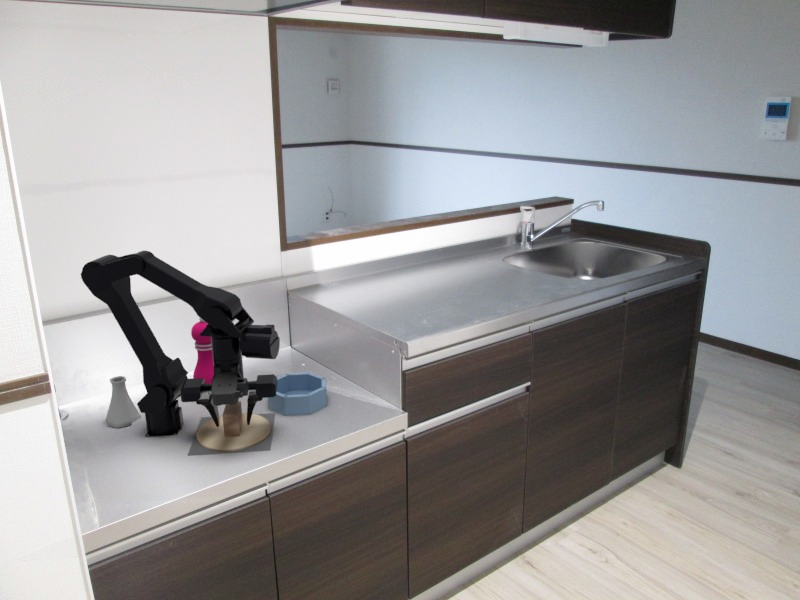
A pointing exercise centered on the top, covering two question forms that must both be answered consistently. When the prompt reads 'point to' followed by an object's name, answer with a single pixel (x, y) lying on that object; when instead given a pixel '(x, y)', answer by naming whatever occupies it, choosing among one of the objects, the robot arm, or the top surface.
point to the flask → (121, 405)
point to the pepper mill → (203, 353)
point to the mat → (262, 446)
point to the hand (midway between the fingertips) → (233, 425)
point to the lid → (233, 430)
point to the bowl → (299, 394)
